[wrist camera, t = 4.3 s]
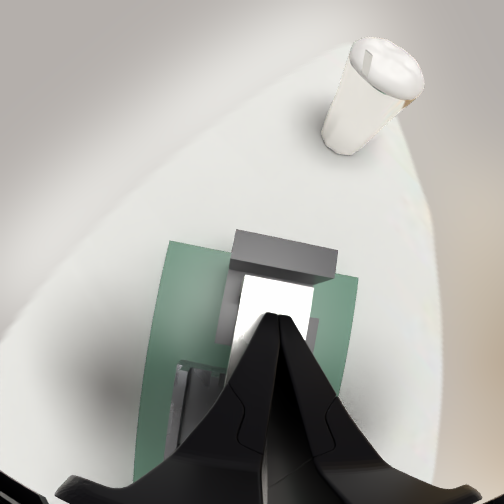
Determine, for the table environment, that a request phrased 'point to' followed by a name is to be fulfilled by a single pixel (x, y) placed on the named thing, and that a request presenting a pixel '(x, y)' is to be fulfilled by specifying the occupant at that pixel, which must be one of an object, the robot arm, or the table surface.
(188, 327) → the board
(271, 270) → the lug block
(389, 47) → the milkshake
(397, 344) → the table surface
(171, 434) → the heatsink
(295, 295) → the metal bar
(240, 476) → the robot arm
